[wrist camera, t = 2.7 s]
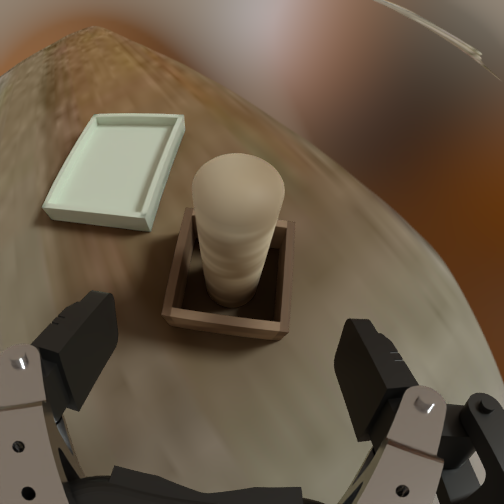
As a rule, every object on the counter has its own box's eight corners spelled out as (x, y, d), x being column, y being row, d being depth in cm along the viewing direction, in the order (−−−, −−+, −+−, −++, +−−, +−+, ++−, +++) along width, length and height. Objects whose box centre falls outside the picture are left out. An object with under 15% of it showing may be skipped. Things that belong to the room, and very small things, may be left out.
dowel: (201, 303, 23) (182, 219, 12) (210, 256, 24) (202, 149, 14) (254, 310, 23) (282, 232, 12) (259, 263, 25) (286, 159, 14)
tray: (51, 219, 25) (41, 207, 23) (98, 127, 30) (94, 114, 28) (150, 231, 25) (145, 218, 23) (185, 130, 31) (183, 114, 29)
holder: (170, 326, 22) (161, 314, 18) (189, 230, 25) (185, 207, 22) (279, 340, 22) (288, 332, 19) (286, 243, 26) (295, 222, 22)
